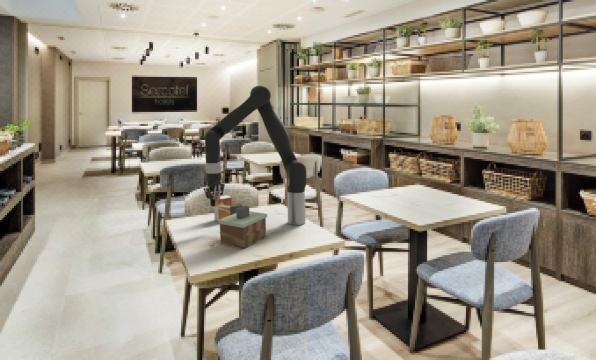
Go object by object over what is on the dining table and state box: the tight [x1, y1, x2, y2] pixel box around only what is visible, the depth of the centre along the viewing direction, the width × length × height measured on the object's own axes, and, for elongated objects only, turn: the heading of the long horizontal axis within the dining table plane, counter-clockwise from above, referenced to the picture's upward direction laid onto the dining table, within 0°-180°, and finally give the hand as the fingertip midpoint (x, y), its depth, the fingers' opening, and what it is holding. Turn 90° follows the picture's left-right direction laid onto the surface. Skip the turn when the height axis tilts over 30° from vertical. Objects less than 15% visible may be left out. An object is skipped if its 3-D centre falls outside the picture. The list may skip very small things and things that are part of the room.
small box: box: [213, 194, 233, 223], centre depth 231 cm, size 8×6×13 cm
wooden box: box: [219, 203, 267, 250], centre depth 198 cm, size 18×16×15 cm
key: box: [210, 194, 237, 211], centre depth 208 cm, size 3×15×6 cm, turn 61°
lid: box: [217, 205, 268, 228], centre depth 196 cm, size 19×14×7 cm
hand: (215, 205), depth 212 cm, fingers closed on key, 3 cm apart
